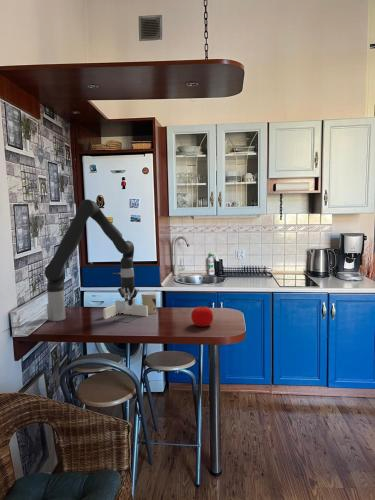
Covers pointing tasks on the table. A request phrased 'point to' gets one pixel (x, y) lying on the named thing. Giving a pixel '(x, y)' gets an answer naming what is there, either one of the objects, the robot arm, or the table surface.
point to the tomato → (202, 316)
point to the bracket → (124, 305)
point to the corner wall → (138, 310)
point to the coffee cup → (149, 301)
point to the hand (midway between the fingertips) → (129, 305)
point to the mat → (126, 318)
